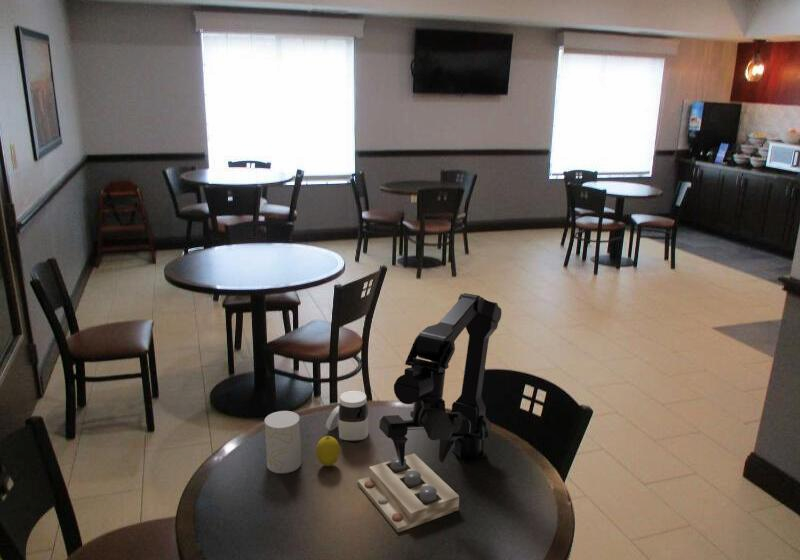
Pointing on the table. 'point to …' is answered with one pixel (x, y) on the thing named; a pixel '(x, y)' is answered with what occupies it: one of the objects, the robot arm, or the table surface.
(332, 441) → the lemon
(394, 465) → the button
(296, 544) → the table surface
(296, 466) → the white cylinder
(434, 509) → the button board
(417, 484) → the button middle
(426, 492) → the button
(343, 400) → the spread jar
